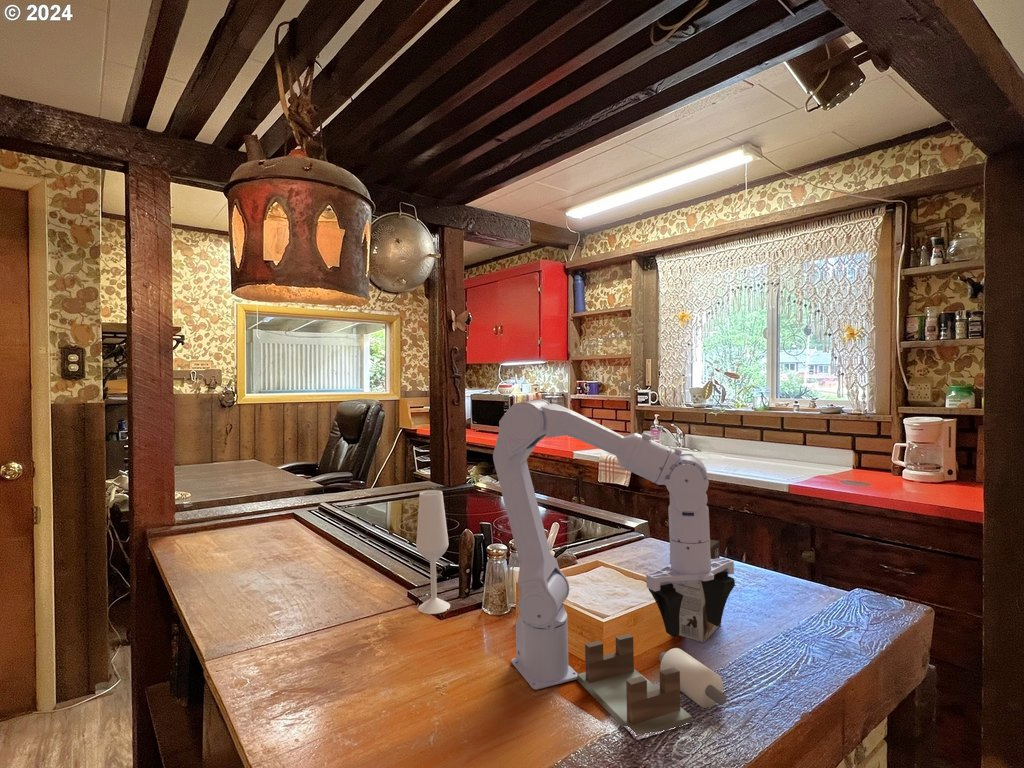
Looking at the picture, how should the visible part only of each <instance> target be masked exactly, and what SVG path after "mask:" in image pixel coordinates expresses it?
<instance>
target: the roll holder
mask: <svg viewBox="0 0 1024 768" xmlns="http://www.w3.org/2000/svg"><path fill="white" fill-rule="evenodd" d="M584 650H585V652H584V655H585V657H584V658H585V662H584V664H585V665H584V666H585V671H583V672H581V673H577V679H576V680H577V682H579V683H580V685H581V686H582V687H583V688H584V689H585V690H586V691H587V692H588V693H589V694H590V695H591V696H592V697H593V698H594V699H595V700H596V701H597V702H598V703H599V704H600V705H601V706H602V707H603V708H604V709H605V710H606V711H607V712H608V714H609V715H611V717H612V718H614V719H615V720H616V722H617V723H618V724H619V725H620V726H621V727H622V726H628V727H630V728H631V729H632V730H633V731H634V732H635V733H636V735H638V734H645V733H650V732H657V731H663V730H667V729H670V728H674V727H677V726H681V725H684V724H686V723H691V722H692V723H693V716H692V715H691V714H690V713H689V712H688V711H686V709H684V708H683V707H681V690H680V671H679V670H678V669H676V668H675V667H673V668H669V669H665V670H662V671H661V670H659V688H658V686H656V685H655V684H654V683H652V682H651V681H650V680H649V679H648V678H646V677H645V676H644V675H642V673H641V672H639V671H638V670H637V669H635V665H634V664H635V663H634V662H635V660H634V659H635V658H634V657H635V656H634V654H635V652H634V636H633V635H632V634H631V633H626V634H623V635H617V636H615V652H611V653H608V654H604V643H603V642H602V641H600V640H597V641H593V642H592V641H591V642H588V643H585V644H584Z"/></svg>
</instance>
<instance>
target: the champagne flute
mask: <svg viewBox="0 0 1024 768" xmlns="http://www.w3.org/2000/svg"><path fill="white" fill-rule="evenodd" d="M443 493H444V492H443V491H442V490H437V489H433V490H432V489H431V490H424V491H421V492H419V496H418V511H417V512H418V513H417V526H416V527H417V529H416V540H415V541H416V544H415V545H416V546H415V547H416V551H418V553H419V554H420V555H421V556H422V557H423V558H424V559H425V560H426V561H429V565H430V566H429V567H430V568H429V569H430V570H429V571H430V597H431V598H428V599H427V600H426V601H424V602H423V603H421V604H420V605H419V606H418V607H417V610H418V611H419V612H421V613H422V614H425V615H426V614H430V615H435V614H436V615H437V614H440V613H444V612H446V611H448V610H449V609H450V608H451V604H450V603H449V602H448V601H446V600H443V599H442V598H441V599H440V598H439V597H438V596H437V595H438V594H437V593H438V592H437V591H438V589H437V561H438V560H439V559H441V557H443V555H444V554H445V553H446V551H447V549H448V547H449V535H448V527H447V526H448V525H447V518H446V510H445V503H444V501H445V500H444V494H443ZM447 609H448V610H447Z"/></svg>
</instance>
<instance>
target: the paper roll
mask: <svg viewBox="0 0 1024 768" xmlns="http://www.w3.org/2000/svg"><path fill="white" fill-rule="evenodd" d="M658 659H659V661H660V666H659V667H660V668H659V669H660V671H662V670H665V669H669V668H673V667H675V668H676V669H678V670H679V671H680V692H682V693H683V694H684V695H686V696H687V697H688V698H689V699H691V700H692V701H693V702H694V703H696V704H697V705H698V706H700V707H701V708H703V709H708V708H707V707H709V708H711V707H710V706H712V707H714V706H715V705H719V706H724V705H725V704H726V702H727V694H725V693H723V691H724V683H723V682H724V681H723V679H722V677H721V676H720V675H719V674H717V672H715V671H713V670H712V669H710V668H709V667H707V666H706V665H705V664H703V663H701V661H699V660H697V659H696V658H694V656H691V655H690V654H688V653H687V652H685V651H684V650H682V649H681V648H679V647H674V648H671V649H668V650H667V651H662V652H661V653H660V654H659V658H658Z"/></svg>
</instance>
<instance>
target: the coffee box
mask: <svg viewBox="0 0 1024 768" xmlns="http://www.w3.org/2000/svg"><path fill="white" fill-rule="evenodd" d="M710 555H711V559H719V558H720V541H719V540H716V539H715V540H714V539H710ZM669 562H670V563H669V565H670V564H671V559H670V558H669ZM673 587H674V588H675V589H676V592H678V593H680V594H682V595H683V599H682V602H681V606H680V614H679V625H680V631H679V636H680V637H683V638H687V639H690V640H693V641H697V642H700V643H705V642H706V641H707V640H708V639H710V637H711V636H712V635H713V634H714V632H716V630H717V629H718V628H719V627H720V626H721V625H722V623H721V624H720V626H715V625H713V624H711V623H710V622H708V621H707V617H706V608H705V596H704V591H703V587H702V583H701V580H694V581H690V582H685V583H681V584H676V585H673Z"/></svg>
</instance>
